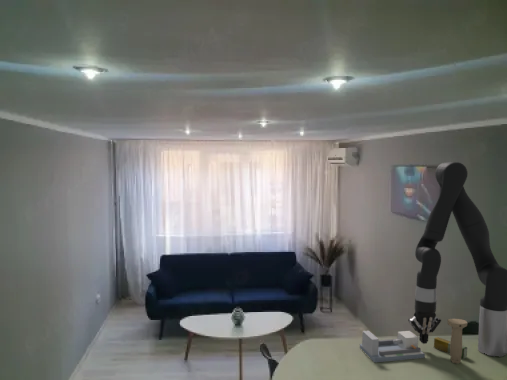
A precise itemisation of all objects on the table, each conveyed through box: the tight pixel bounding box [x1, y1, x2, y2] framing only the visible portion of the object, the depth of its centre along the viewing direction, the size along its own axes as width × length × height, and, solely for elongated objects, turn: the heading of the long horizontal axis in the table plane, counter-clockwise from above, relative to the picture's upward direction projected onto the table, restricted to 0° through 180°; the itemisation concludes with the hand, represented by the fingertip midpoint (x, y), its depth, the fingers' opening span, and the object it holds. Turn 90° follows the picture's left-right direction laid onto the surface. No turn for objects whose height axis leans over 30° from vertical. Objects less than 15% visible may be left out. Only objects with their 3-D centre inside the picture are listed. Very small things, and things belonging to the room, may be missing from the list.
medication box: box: [433, 336, 468, 360], centre depth 165 cm, size 12×3×4 cm, turn 37°
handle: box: [447, 318, 468, 364], centre depth 157 cm, size 5×6×15 cm
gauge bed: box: [359, 330, 426, 363], centre depth 164 cm, size 20×12×8 cm, turn 101°
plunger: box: [393, 330, 419, 349], centre depth 164 cm, size 8×8×5 cm
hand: (423, 342), depth 167 cm, fingers closed
